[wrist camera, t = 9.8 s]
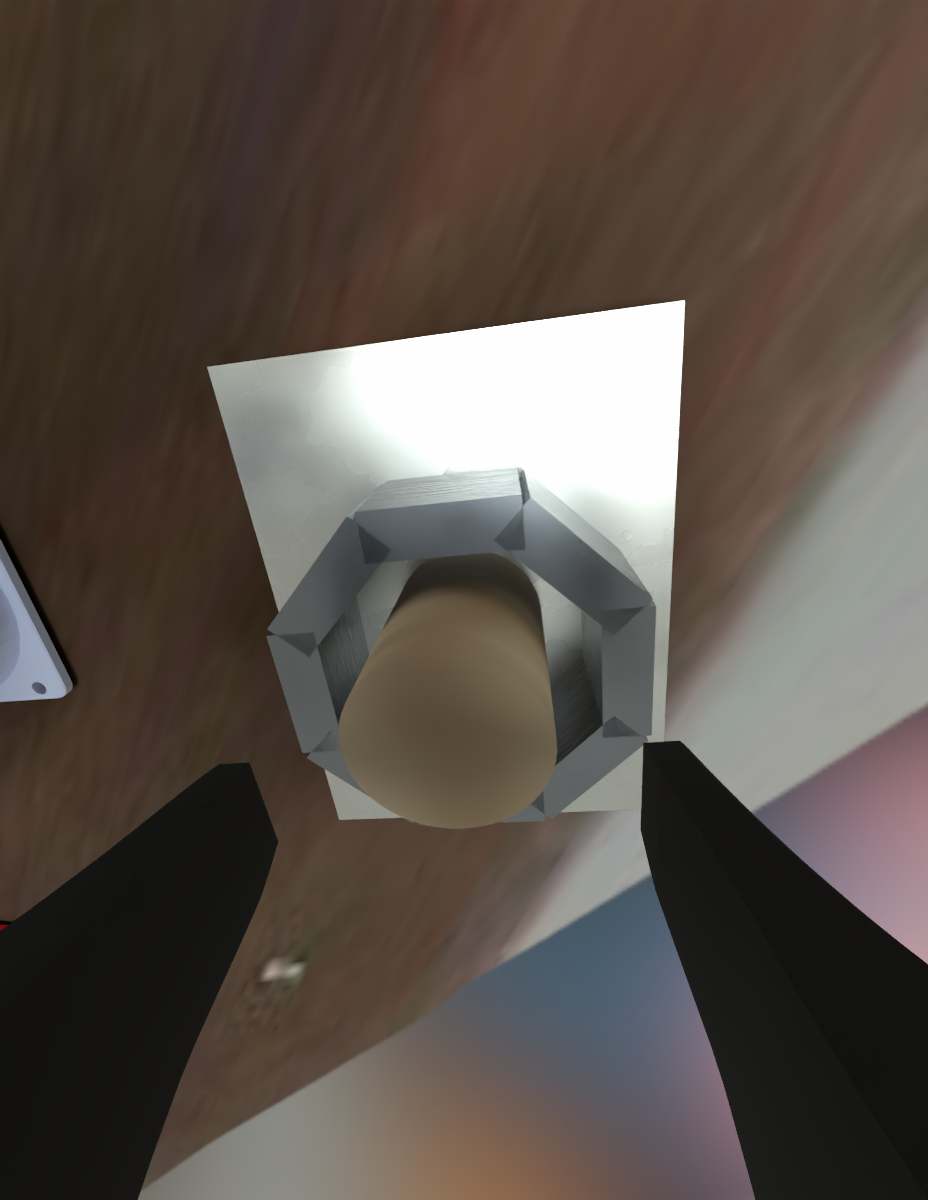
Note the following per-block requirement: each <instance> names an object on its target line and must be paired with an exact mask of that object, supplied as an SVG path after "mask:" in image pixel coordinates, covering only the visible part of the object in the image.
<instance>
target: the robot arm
mask: <svg viewBox="0 0 928 1200" xmlns="http://www.w3.org/2000/svg"><path fill="white" fill-rule="evenodd" d="M72 687H73V685H72V681H71V679H70V677H69V675H68V673H67V671H66V669H65V667H64V665H63V663H62V661H61V659H60V657H59V655H58V653H57V651H56V649H55V647H54V645H53V643H52V641H51V639H50V637H49V635H48V633H47V631H46V629H45V627H44V625H43V623H42V621H41V619H40V617H39V615H38V613H37V611H36V609H35V607H34V605H33V603H32V601H31V599H30V597H29V595H28V593H27V591H26V589H25V587H24V585H23V583H22V581H21V579H20V577H19V575H18V573H17V571H16V569H15V567H14V565H13V563H12V561H11V559H10V557H9V555H8V553H7V551H6V549H5V547H4V545H3V543H2V541H1V539H0V702H7V701H22V700H38V699H53V698H61V697H64V696H65V695H66V694H68V693H69V692H70V691H71V690H72ZM641 833H642V837H643V841H644V845H645V850H646V854H647V858H648V862H649V866H650V870H651V874H652V878H653V882H654V885H655V890H656V893H657V896H658V899H659V902H660V904H661V907H662V910H663V913H664V916H665V918H666V921H667V924H668V927H669V930H670V932H671V935H672V938H673V941H674V944H675V947H676V950H677V952H678V955H679V958H680V961H681V963H682V966H683V969H684V972H685V975H686V977H687V980H688V983H689V986H690V988H691V991H692V994H693V997H694V1000H695V1002H696V1005H697V1008H698V1011H699V1014H700V1016H701V1019H702V1022H703V1025H704V1027H705V1030H706V1033H707V1035H708V1039H709V1041H710V1044H711V1047H712V1050H713V1053H714V1056H715V1059H716V1062H717V1066H718V1069H719V1072H720V1075H721V1078H722V1081H723V1084H724V1087H725V1091H726V1094H727V1098H728V1101H729V1105H730V1108H731V1112H732V1116H733V1120H734V1123H735V1127H736V1131H737V1134H738V1137H739V1141H740V1144H741V1149H742V1152H743V1156H744V1159H745V1162H746V1167H747V1170H748V1174H749V1177H750V1181H751V1185H752V1189H753V1192H754V1196H755V1200H928V964H926V963H925V962H924V961H923V960H922V959H920V958H919V957H918V956H916V955H915V954H914V953H912V952H911V951H910V950H909V949H907V948H906V947H905V946H903V945H902V944H901V943H900V942H898V941H897V940H896V939H895V938H893V937H892V936H891V935H890V934H888V933H887V932H886V931H885V930H883V929H882V928H881V927H880V926H879V925H877V924H876V923H875V922H874V921H872V920H871V919H870V918H869V917H867V916H866V915H865V914H864V913H863V912H861V911H860V910H859V909H858V908H857V907H855V906H854V905H853V904H852V903H851V902H850V901H848V900H847V899H846V898H845V897H844V896H843V895H841V894H840V893H839V892H838V891H837V890H836V889H834V888H833V887H832V886H831V885H830V884H829V883H827V882H826V881H825V880H824V879H823V878H822V877H821V876H819V875H818V874H817V873H816V872H815V871H814V870H813V869H812V868H810V867H809V866H808V865H807V864H806V863H805V862H804V861H803V860H801V859H800V858H799V857H798V856H797V855H796V854H795V853H794V852H793V851H792V850H790V849H789V848H788V847H787V846H786V845H785V844H784V843H783V842H782V841H781V840H780V839H779V838H778V837H777V836H776V835H774V834H773V833H772V832H771V831H770V830H769V829H768V828H767V827H766V826H765V825H764V824H763V823H762V822H761V821H759V819H757V818H756V817H755V816H754V815H753V814H752V813H751V812H750V811H749V810H748V809H747V808H746V807H745V806H744V805H743V804H742V803H741V802H740V801H739V800H738V799H737V798H736V797H735V796H734V795H733V794H732V793H731V792H730V791H729V790H728V789H727V788H726V787H725V786H724V785H723V784H722V783H721V782H720V781H719V780H718V779H717V778H716V777H715V776H714V775H713V774H712V773H711V772H710V771H709V770H708V769H707V768H706V767H705V765H704V764H703V763H702V762H701V761H700V760H699V759H698V758H697V757H696V756H695V755H694V754H693V753H692V752H691V751H690V750H689V749H688V748H687V747H686V746H685V745H684V744H683V743H682V742H681V741H667V742H648V743H643V767H642V802H641ZM277 844H278V840H277V837H276V834H275V832H274V829H273V826H272V823H271V821H270V818H269V815H268V812H267V810H266V807H265V804H264V801H263V799H262V796H261V793H260V791H259V788H258V785H257V782H256V780H255V777H254V774H253V771H252V769H251V766H250V763H235V764H219V765H217V766H216V767H215V768H213V769H212V770H210V771H209V772H208V773H206V774H205V775H203V776H202V777H201V778H199V779H198V780H197V781H196V782H194V783H193V784H192V785H190V786H189V787H188V788H187V789H185V790H184V791H183V792H181V793H180V794H179V795H178V796H176V797H175V798H174V799H173V800H171V801H170V802H169V803H168V804H166V805H165V806H164V807H163V808H161V809H160V810H159V811H158V812H156V813H155V814H154V815H153V816H151V817H150V818H149V819H147V820H146V821H145V822H144V823H142V824H141V825H140V826H139V827H137V828H136V829H135V830H134V831H132V832H131V833H130V834H129V835H127V836H126V837H125V838H123V839H122V840H121V841H120V842H118V843H117V844H116V845H115V846H113V847H112V848H111V849H110V850H108V851H107V852H106V853H105V854H103V855H102V856H101V857H99V858H98V859H97V860H95V861H94V862H93V863H91V864H90V865H89V866H87V867H86V868H85V869H83V870H82V871H81V872H79V873H78V874H77V875H75V876H74V877H73V878H71V879H70V880H69V881H67V882H66V883H65V884H63V885H62V886H61V887H59V888H58V889H57V890H55V891H54V892H53V893H51V894H50V895H49V896H47V897H46V898H45V899H43V900H42V901H41V902H39V903H38V904H37V905H35V906H34V907H33V908H31V909H30V910H29V911H27V912H26V913H25V914H23V915H22V916H20V917H19V918H18V919H16V920H15V921H13V922H12V923H10V924H9V925H8V926H6V927H5V928H3V929H2V930H0V1200H138V1197H139V1194H140V1191H141V1188H142V1185H143V1182H144V1179H145V1176H146V1173H147V1170H148V1168H149V1165H150V1162H151V1159H152V1156H153V1153H154V1150H155V1148H156V1145H157V1142H158V1139H159V1137H160V1134H161V1131H162V1128H163V1126H164V1123H165V1120H166V1117H167V1115H168V1112H169V1109H170V1106H171V1104H172V1101H173V1098H174V1095H175V1093H176V1090H177V1087H178V1084H179V1082H180V1079H181V1076H182V1074H183V1071H184V1069H185V1067H186V1064H187V1062H188V1059H189V1057H190V1055H191V1052H192V1050H193V1047H194V1045H195V1043H196V1040H197V1038H198V1036H199V1034H200V1032H201V1029H202V1027H203V1025H204V1023H205V1021H206V1018H207V1016H208V1014H209V1012H210V1010H211V1007H212V1005H213V1003H214V1001H215V999H216V996H217V994H218V992H219V990H220V988H221V985H222V983H223V981H224V979H225V977H226V974H227V972H228V970H229V968H230V966H231V963H232V961H233V959H234V957H235V955H236V952H237V950H238V948H239V946H240V943H241V941H242V939H243V937H244V934H245V932H246V930H247V928H248V925H249V923H250V921H251V919H252V917H253V914H254V912H255V910H256V907H257V905H258V903H259V900H260V898H261V895H262V892H263V889H264V886H265V883H266V880H267V877H268V874H269V871H270V867H271V864H272V861H273V857H274V854H275V851H276V847H277Z"/></svg>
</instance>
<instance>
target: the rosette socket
mask: <svg viewBox="0 0 928 1200" xmlns="http://www.w3.org/2000/svg"><path fill="white" fill-rule="evenodd" d="M684 311H685V300H683V301H676V302H669V303H662V304H655V305H647V306H640V307H633V308H626V309H619V310H612V311H604V312H597V313H590V314H583V315H576V316H569V317H561V318H554V319H547V320H540V321H533V322H526V323H518V324H511V325H504V326H497V327H490V328H483V329H476V330H468V331H461V332H454V333H447V334H440V335H433V336H425V337H418V338H411V339H404V340H397V341H390V342H382V343H375V344H368V345H361V346H354V347H347V348H339V349H332V350H325V351H318V352H311V353H304V354H296V355H289V356H282V357H275V358H268V359H261V360H253V361H246V362H239V363H232V364H225V365H218V366H211V367H207V368H208V371H209V375H210V378H211V382H212V385H213V388H214V392H215V395H216V399H217V402H218V406H219V409H220V412H221V416H222V419H223V423H224V426H225V430H226V433H227V436H228V440H229V443H230V447H231V450H232V454H233V457H234V460H235V464H236V467H237V471H238V474H239V477H240V481H241V484H242V488H243V491H244V495H245V498H246V501H247V505H248V508H249V512H250V515H251V519H252V522H253V525H254V529H255V532H256V536H257V539H258V543H259V546H260V549H261V553H262V556H263V560H264V563H265V567H266V570H267V573H268V577H269V580H270V584H271V587H272V591H273V594H274V597H275V601H276V604H277V608H278V611H279V613H278V614H277V616H276V617H275V619H274V620H273V622H272V623H271V624H270V626H269V627H268V630H269V631H270V632H269V633H268V635H267V636H266V637H267V640H268V643H269V646H270V650H271V653H272V656H273V659H274V663H275V666H276V669H277V672H278V676H279V679H280V682H281V685H282V689H283V692H284V695H285V698H286V702H287V705H288V708H289V711H290V714H291V718H292V721H293V724H294V727H295V731H296V734H297V737H298V740H299V744H300V747H301V750H302V753H309V754H308V756H307V758H308V759H309V760H311V761H312V762H314V763H316V764H317V765H319V766H320V767H322V768H324V769H325V772H326V776H327V779H328V783H329V786H330V789H331V793H332V796H333V800H334V803H335V807H336V810H337V813H338V817H339V820H348V819H376V818H403V817H401V816H399V815H397V814H395V813H393V812H391V811H389V810H387V809H386V808H384V807H383V806H381V805H380V804H378V803H377V802H376V801H374V800H373V799H372V798H371V797H369V796H368V795H367V794H366V793H365V792H364V791H363V790H362V789H361V788H360V786H359V785H358V784H357V783H356V781H355V780H354V779H353V777H352V776H351V774H350V772H349V771H348V769H347V767H346V765H345V762H344V760H343V757H342V754H341V750H340V746H339V738H338V732H339V721H340V717H341V713H342V710H343V708H344V705H345V703H346V701H347V699H348V697H349V695H350V693H351V691H352V689H353V687H354V685H355V683H356V681H357V679H358V677H359V675H360V673H361V671H362V669H363V667H364V665H365V663H366V661H367V659H368V657H369V655H370V653H371V651H372V649H373V647H374V645H375V643H376V641H377V639H378V637H379V635H380V633H381V631H382V629H383V627H384V625H385V623H386V621H387V619H388V617H389V615H390V614H391V612H392V610H393V608H394V606H395V604H396V602H397V600H398V598H399V596H400V594H401V592H402V590H403V588H404V586H405V584H406V582H407V581H408V579H409V577H410V576H411V575H412V574H413V572H414V571H415V570H416V569H417V568H418V567H419V566H420V565H422V564H423V563H424V562H426V561H427V560H429V559H430V558H438V557H449V556H460V555H471V554H482V553H495V554H497V555H499V556H501V557H504V558H505V559H507V560H509V561H510V562H512V563H513V564H515V565H516V566H517V567H518V568H520V569H521V570H522V571H523V572H524V573H525V574H526V576H527V577H528V578H529V580H530V581H531V582H532V584H533V586H534V588H535V590H536V592H537V594H538V597H539V600H540V605H541V612H542V620H543V628H544V637H545V645H546V654H547V662H548V671H549V679H550V688H551V696H552V705H553V713H554V722H555V730H556V739H557V757H556V763H555V767H554V771H553V774H552V776H551V778H550V780H549V782H548V784H547V785H546V787H545V788H544V790H543V791H542V793H541V794H540V795H539V796H538V797H537V798H536V799H535V800H534V801H533V802H532V803H531V804H530V805H528V806H527V807H526V808H525V809H523V810H522V811H520V812H518V813H517V814H515V815H513V816H511V817H509V818H507V819H505V820H502V821H499V822H496V823H501V822H532V821H545V815H547V816H548V817H550V818H551V819H552V818H554V817H555V816H556V815H557V814H559V813H560V812H579V811H608V810H637V809H641V802H642V767H643V743H648V742H664V724H665V704H666V683H667V662H668V642H669V621H670V601H671V580H672V559H673V539H674V518H675V497H676V477H677V456H678V435H679V415H680V394H681V373H682V353H683V332H684ZM405 819H406V818H405ZM406 820H408V819H406ZM408 821H410V822H411V823H414V822H413V821H411V820H408ZM419 825H424V824H420V823H419Z"/></svg>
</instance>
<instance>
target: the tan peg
mask: <svg viewBox="0 0 928 1200" xmlns="http://www.w3.org/2000/svg"><path fill="white" fill-rule="evenodd" d="M338 738H339V746H340V750H341V754H342V757H343V760H344V762H345V765H346V767H347V769H348V771H349V772H350V774H351V776H352V777H353V779H354V780H355V781H356V783H357V784H358V785H359V786H360V788H361V789H362V790H363V791H364V792H365V793H366V794H367V795H368V796H369V797H371V798H372V799H373V800H374V801H376V802H377V803H378V804H380V805H381V806H383V807H384V808H386V809H387V810H389V811H391V812H393V813H395V814H397V815H399V816H401V817H403V818H406V819H408V820H411V821H413V822H417V823H420V824H424V825H428V826H434V827H440V828H451V829H461V828H474V827H481V826H486V825H490V824H494V823H496V822H499V821H502V820H505V819H507V818H509V817H511V816H513V815H515V814H517V813H518V812H520V811H522V810H523V809H525V808H526V807H527V806H528V805H530V804H531V803H532V802H533V801H534V800H535V799H536V798H537V797H538V796H539V795H540V794H541V793H542V791H543V790H544V788H545V787H546V785H547V784H548V782H549V780H550V778H551V776H552V774H553V771H554V767H555V763H556V757H557V739H556V730H555V722H554V713H553V705H552V696H551V688H550V679H549V671H548V662H547V654H546V645H545V637H544V628H543V620H542V612H541V605H540V600H539V597H538V594H537V592H536V590H535V588H534V586H533V584H532V582H531V581H530V580H529V578H528V577H527V576H526V574H525V573H524V572H523V571H522V570H521V569H520V568H518V567H517V566H516V565H515V564H513V563H512V562H510V561H509V560H507V559H505V558H504V557H501V556H499V555H497V554H495V553H482V554H471V555H460V556H449V557H438V558H430V559H429V560H427V561H426V562H424V563H423V564H422V565H420V566H419V567H418V568H417V569H416V570H415V571H414V572H413V574H412V575H411V576H410V577H409V579H408V581H407V582H406V584H405V586H404V588H403V590H402V592H401V594H400V596H399V598H398V600H397V602H396V604H395V606H394V608H393V610H392V612H391V614H390V615H389V617H388V619H387V621H386V623H385V625H384V627H383V629H382V631H381V633H380V635H379V637H378V639H377V641H376V643H375V645H374V647H373V649H372V651H371V653H370V655H369V657H368V659H367V661H366V663H365V665H364V667H363V669H362V671H361V673H360V675H359V677H358V679H357V681H356V683H355V685H354V687H353V689H352V691H351V693H350V695H349V697H348V699H347V701H346V703H345V705H344V708H343V710H342V713H341V717H340V721H339V732H338Z"/></svg>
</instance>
